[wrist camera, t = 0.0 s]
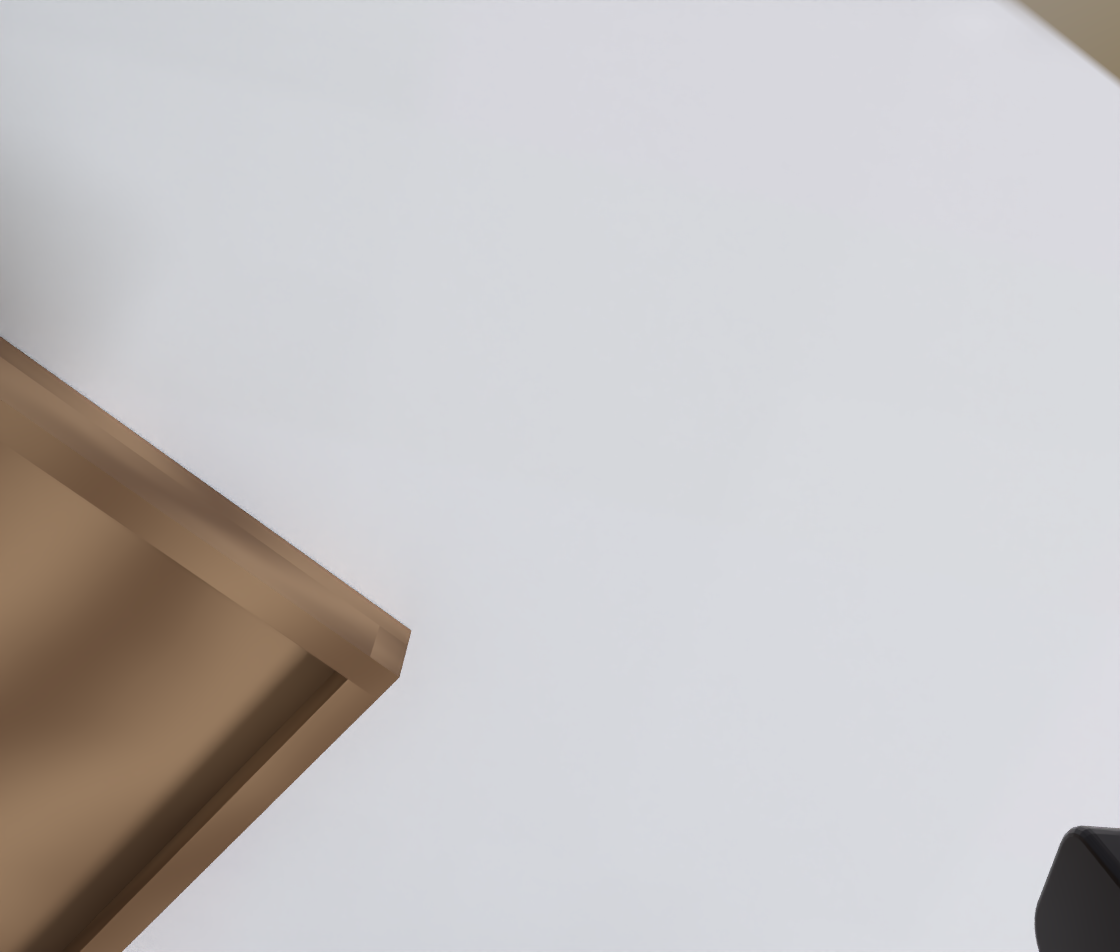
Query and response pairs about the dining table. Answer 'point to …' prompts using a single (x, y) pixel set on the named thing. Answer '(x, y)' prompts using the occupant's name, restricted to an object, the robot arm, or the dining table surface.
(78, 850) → the tray
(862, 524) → the dining table surface
